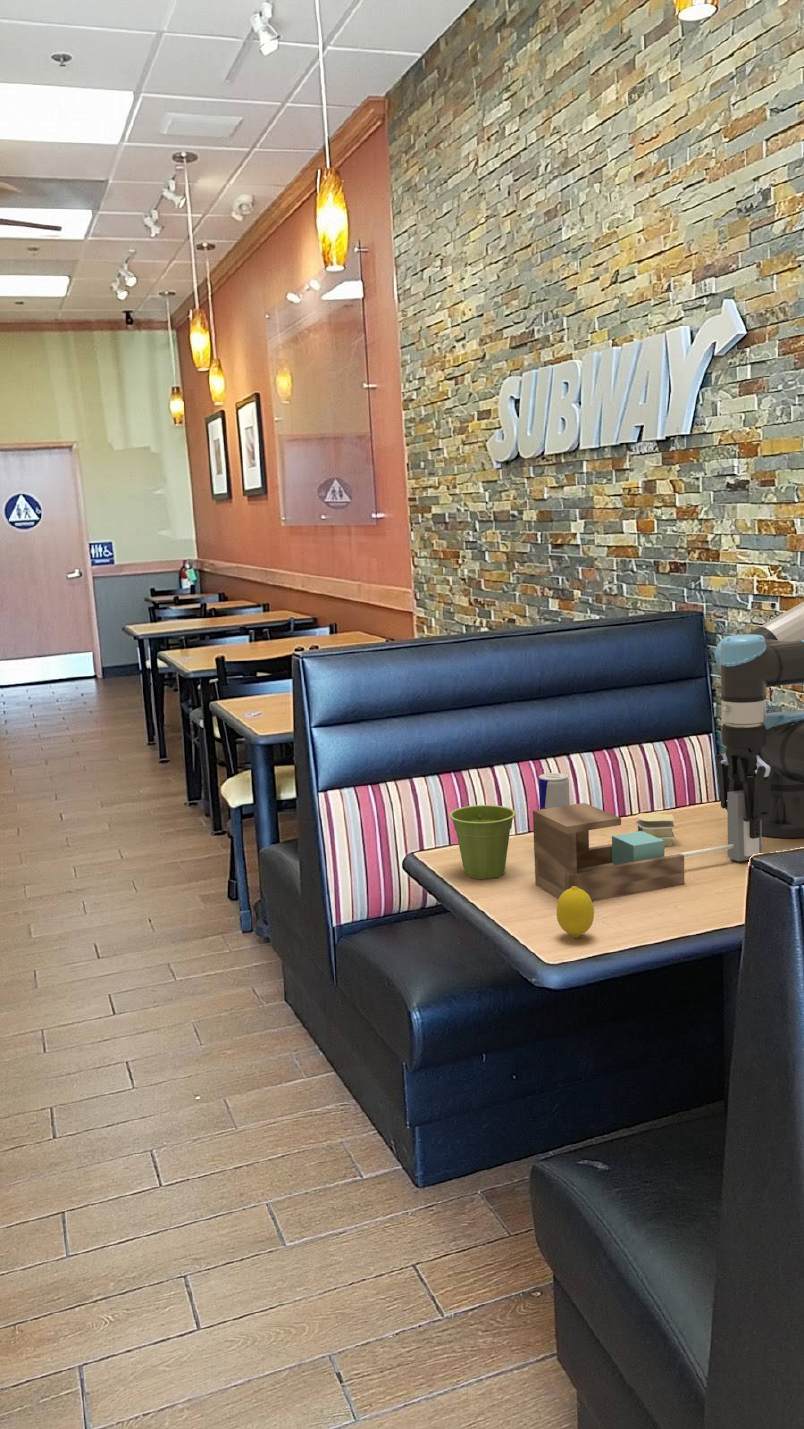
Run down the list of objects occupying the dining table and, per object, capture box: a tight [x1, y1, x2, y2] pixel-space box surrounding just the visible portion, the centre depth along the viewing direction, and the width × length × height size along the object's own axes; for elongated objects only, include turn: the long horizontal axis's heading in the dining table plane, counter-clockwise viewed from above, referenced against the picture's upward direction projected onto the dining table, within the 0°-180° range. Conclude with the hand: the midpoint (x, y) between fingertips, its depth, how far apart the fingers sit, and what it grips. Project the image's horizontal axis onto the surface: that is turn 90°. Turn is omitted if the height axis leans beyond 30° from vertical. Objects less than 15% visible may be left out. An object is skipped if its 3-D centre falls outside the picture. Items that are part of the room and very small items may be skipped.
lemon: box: [555, 886, 595, 939], centre depth 164 cm, size 6×6×8 cm
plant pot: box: [448, 804, 517, 880], centre depth 197 cm, size 12×12×11 cm
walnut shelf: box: [532, 802, 685, 902], centre depth 187 cm, size 22×12×13 cm, turn 110°
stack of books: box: [635, 812, 676, 847], centre depth 210 cm, size 10×9×6 cm
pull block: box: [611, 790, 763, 865], centre depth 192 cm, size 28×7×12 cm, turn 110°
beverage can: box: [538, 772, 571, 810], centre depth 207 cm, size 6×6×15 cm
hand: (744, 851), depth 197 cm, fingers closed on pull block, 3 cm apart
